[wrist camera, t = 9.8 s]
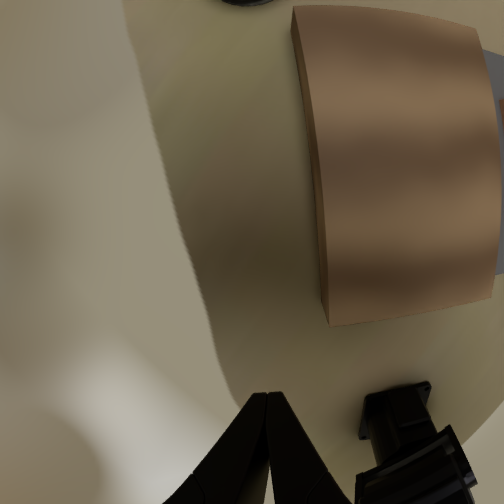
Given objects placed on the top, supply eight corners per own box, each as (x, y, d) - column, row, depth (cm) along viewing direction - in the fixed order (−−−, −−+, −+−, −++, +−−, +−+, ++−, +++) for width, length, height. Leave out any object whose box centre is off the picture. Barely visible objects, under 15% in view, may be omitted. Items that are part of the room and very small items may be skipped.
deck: (466, 278, 19) (490, 297, 15) (321, 300, 20) (329, 327, 17) (451, 42, 13) (475, 28, 10) (290, 30, 15) (293, 5, 11)
